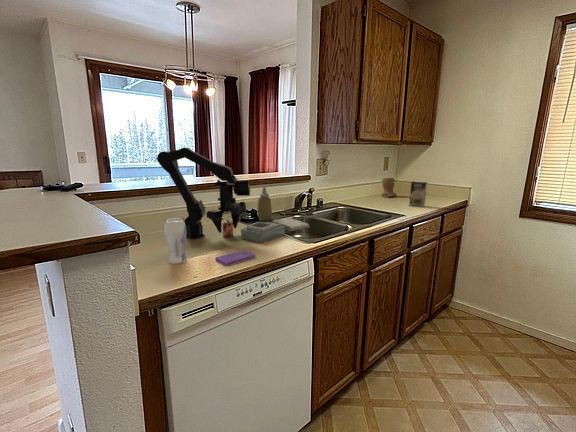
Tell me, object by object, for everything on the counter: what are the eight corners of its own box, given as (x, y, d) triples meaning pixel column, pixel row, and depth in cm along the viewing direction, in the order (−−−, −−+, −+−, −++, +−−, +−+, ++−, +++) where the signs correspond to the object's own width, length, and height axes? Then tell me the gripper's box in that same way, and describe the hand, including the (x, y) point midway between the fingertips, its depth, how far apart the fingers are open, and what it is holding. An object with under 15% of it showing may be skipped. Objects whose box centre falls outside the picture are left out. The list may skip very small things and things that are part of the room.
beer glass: (170, 257, 113) (167, 217, 110) (190, 257, 114) (187, 217, 110) (164, 265, 106) (160, 222, 103) (185, 264, 107) (182, 222, 104)
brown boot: (384, 194, 259) (385, 176, 255) (398, 195, 252) (400, 177, 248) (376, 196, 247) (378, 177, 244) (391, 198, 240) (393, 178, 237)
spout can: (228, 238, 137) (227, 221, 135) (220, 236, 139) (219, 219, 138) (235, 235, 141) (234, 219, 139) (228, 234, 143) (227, 217, 141)
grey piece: (262, 243, 130) (262, 230, 129) (241, 238, 137) (240, 225, 136) (288, 232, 145) (288, 221, 144) (268, 229, 152) (268, 217, 151)
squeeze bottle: (270, 222, 165) (269, 188, 161) (255, 221, 167) (254, 188, 163) (273, 218, 173) (273, 186, 169) (259, 218, 174) (259, 186, 170)
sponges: (255, 259, 114) (255, 254, 113) (225, 267, 106) (225, 262, 105) (244, 254, 119) (244, 249, 118) (215, 261, 111) (214, 256, 110)
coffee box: (408, 206, 210) (410, 182, 206) (410, 204, 215) (412, 181, 211) (423, 207, 205) (425, 183, 201) (424, 205, 210) (427, 182, 207)
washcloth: (288, 221, 169) (288, 216, 168) (310, 228, 155) (310, 222, 154) (270, 225, 161) (270, 219, 161) (291, 232, 148) (291, 226, 147)
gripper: (223, 200, 124) (225, 238, 127) (254, 194, 139) (255, 228, 142) (204, 198, 130) (206, 234, 134) (236, 192, 145) (237, 225, 149)
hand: (227, 230), depth 139 cm, fingers open, 9 cm apart
